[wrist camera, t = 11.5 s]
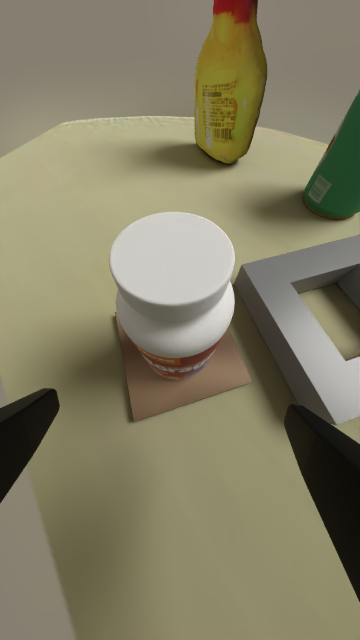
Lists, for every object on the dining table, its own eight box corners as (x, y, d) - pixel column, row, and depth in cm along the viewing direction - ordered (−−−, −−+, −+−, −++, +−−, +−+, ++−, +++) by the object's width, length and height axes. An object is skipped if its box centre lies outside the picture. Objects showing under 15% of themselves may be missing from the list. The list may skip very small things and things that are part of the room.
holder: (448, 368, 16) (501, 360, 13) (308, 421, 14) (336, 424, 12) (341, 255, 22) (364, 233, 19) (233, 283, 20) (241, 264, 18)
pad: (250, 382, 16) (252, 381, 15) (135, 421, 15) (133, 421, 14) (208, 290, 20) (209, 287, 19) (117, 315, 19) (115, 312, 18)
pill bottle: (144, 384, 15) (71, 336, 5) (143, 318, 18) (94, 204, 8) (218, 377, 15) (281, 317, 5) (206, 312, 18) (235, 194, 8)
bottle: (183, 146, 34) (184, -144, 16) (209, 137, 36) (237, -138, 18) (226, 175, 30) (292, -179, 12) (254, 162, 31) (350, -167, 13)
